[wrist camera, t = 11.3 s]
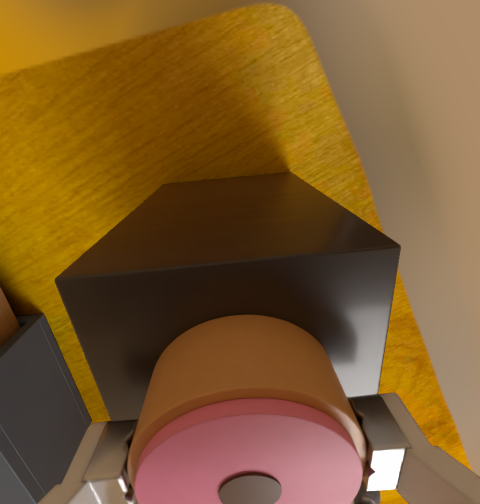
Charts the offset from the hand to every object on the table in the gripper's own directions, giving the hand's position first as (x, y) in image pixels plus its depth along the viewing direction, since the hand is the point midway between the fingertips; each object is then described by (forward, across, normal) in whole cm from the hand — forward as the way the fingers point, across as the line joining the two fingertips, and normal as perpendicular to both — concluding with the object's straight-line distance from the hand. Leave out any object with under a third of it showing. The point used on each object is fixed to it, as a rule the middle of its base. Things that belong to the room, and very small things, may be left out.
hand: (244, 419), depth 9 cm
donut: (+1, 0, 0) cm, 1 cm away
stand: (+16, 0, 0) cm, 16 cm away
